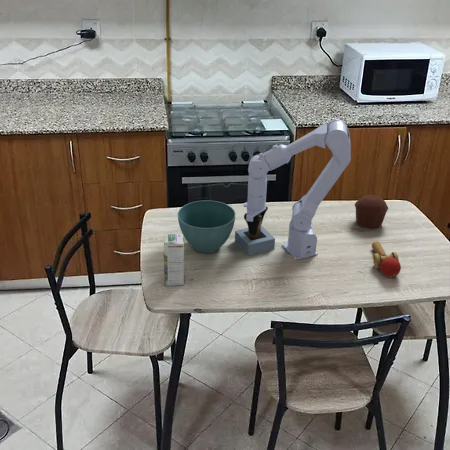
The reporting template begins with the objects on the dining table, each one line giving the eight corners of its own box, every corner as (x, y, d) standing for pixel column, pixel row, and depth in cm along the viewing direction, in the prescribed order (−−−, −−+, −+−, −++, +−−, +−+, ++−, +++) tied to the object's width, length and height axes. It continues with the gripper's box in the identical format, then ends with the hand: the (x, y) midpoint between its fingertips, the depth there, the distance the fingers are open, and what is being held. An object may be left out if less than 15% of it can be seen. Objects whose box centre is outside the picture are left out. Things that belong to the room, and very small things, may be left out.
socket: (274, 249, 188) (275, 238, 186) (248, 255, 184) (248, 244, 182) (260, 235, 195) (260, 224, 193) (234, 241, 191) (235, 230, 189)
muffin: (367, 212, 211) (371, 187, 206) (391, 224, 203) (396, 198, 198) (345, 221, 204) (348, 196, 199) (370, 234, 197) (374, 208, 192)
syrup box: (164, 275, 174) (162, 233, 166) (184, 274, 174) (183, 233, 167) (164, 286, 169) (162, 244, 162) (184, 285, 169) (184, 243, 162)
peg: (262, 235, 189) (263, 214, 185) (257, 241, 186) (259, 219, 182) (250, 233, 190) (251, 211, 186) (246, 238, 187) (247, 217, 183)
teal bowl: (223, 266, 178) (224, 232, 172) (169, 255, 183) (168, 221, 177) (241, 238, 193) (242, 205, 187) (190, 228, 198) (190, 196, 192)
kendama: (361, 253, 189) (378, 278, 172) (366, 235, 187) (384, 259, 170) (383, 256, 190) (402, 282, 173) (389, 239, 188) (408, 263, 171)
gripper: (251, 181, 187) (250, 218, 194) (237, 200, 175) (236, 239, 182) (272, 185, 185) (270, 222, 192) (259, 204, 173) (257, 243, 180)
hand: (255, 230), depth 187 cm, fingers closed on peg, 4 cm apart
